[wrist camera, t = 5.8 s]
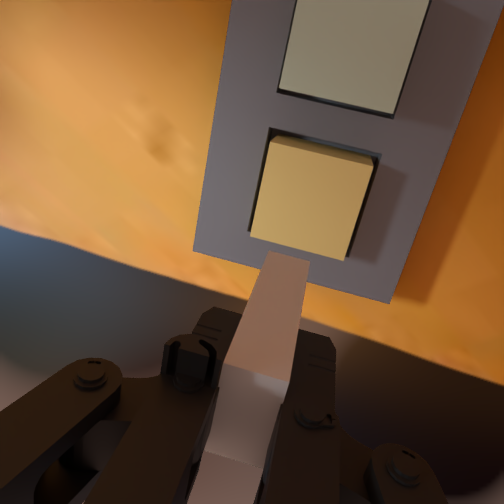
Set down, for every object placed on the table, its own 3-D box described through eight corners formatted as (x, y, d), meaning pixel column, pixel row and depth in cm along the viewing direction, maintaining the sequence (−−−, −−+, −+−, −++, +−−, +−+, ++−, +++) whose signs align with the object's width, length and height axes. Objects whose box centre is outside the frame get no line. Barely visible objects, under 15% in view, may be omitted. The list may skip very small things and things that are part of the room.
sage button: (287, 85, 26) (278, 87, 23) (312, -31, 24) (307, -46, 21) (387, 108, 26) (392, 114, 23) (423, -9, 23) (436, -21, 20)
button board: (202, 238, 34) (192, 251, 31) (297, -327, 21) (291, -374, 19) (386, 287, 32) (389, 304, 30) (600, -287, 20) (633, -333, 18)
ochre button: (259, 219, 31) (249, 236, 28) (278, 133, 29) (270, 141, 25) (343, 240, 31) (343, 260, 27) (370, 155, 28) (373, 166, 25)
